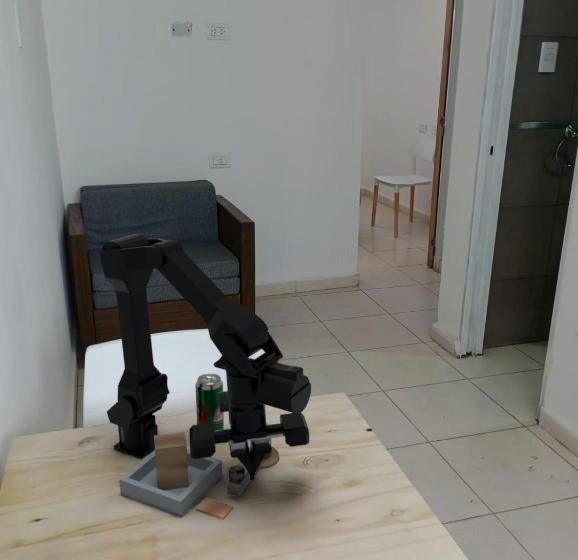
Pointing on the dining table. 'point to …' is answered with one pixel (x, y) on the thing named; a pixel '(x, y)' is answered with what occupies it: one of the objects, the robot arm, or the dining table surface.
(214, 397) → the soda can
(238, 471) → the lever
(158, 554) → the dining table surface
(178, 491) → the tray
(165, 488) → the block
